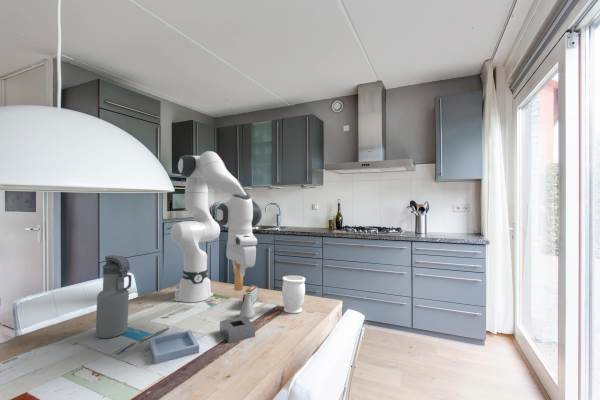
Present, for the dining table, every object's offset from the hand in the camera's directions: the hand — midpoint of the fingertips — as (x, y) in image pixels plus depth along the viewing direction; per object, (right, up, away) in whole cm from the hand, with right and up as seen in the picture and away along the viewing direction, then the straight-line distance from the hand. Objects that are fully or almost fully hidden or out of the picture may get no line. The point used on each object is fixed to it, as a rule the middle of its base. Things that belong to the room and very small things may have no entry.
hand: (238, 274), depth 108 cm
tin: (-1, -23, +31) cm, 38 cm away
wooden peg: (0, -6, 0) cm, 6 cm away
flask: (0, -23, +17) cm, 28 cm away
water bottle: (-46, -21, -2) cm, 51 cm away
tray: (-19, -22, -12) cm, 31 cm away
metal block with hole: (-1, -22, 0) cm, 22 cm away
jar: (+20, -23, +25) cm, 40 cm away
